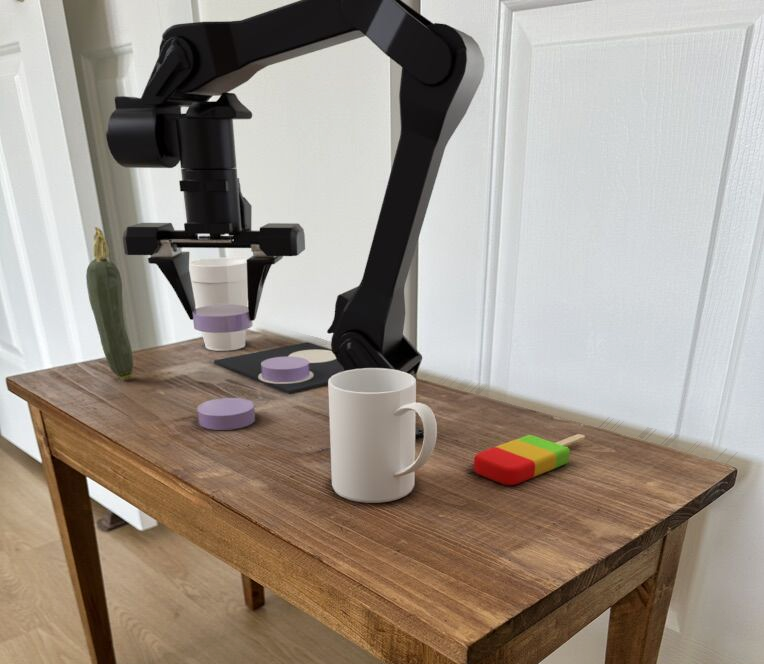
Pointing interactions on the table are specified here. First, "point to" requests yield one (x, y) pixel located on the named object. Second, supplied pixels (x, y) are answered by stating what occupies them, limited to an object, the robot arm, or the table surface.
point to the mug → (376, 434)
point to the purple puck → (221, 318)
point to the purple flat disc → (226, 413)
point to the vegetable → (109, 308)
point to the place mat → (318, 357)
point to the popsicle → (523, 458)
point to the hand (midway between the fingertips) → (223, 319)
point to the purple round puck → (285, 369)
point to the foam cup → (220, 294)
